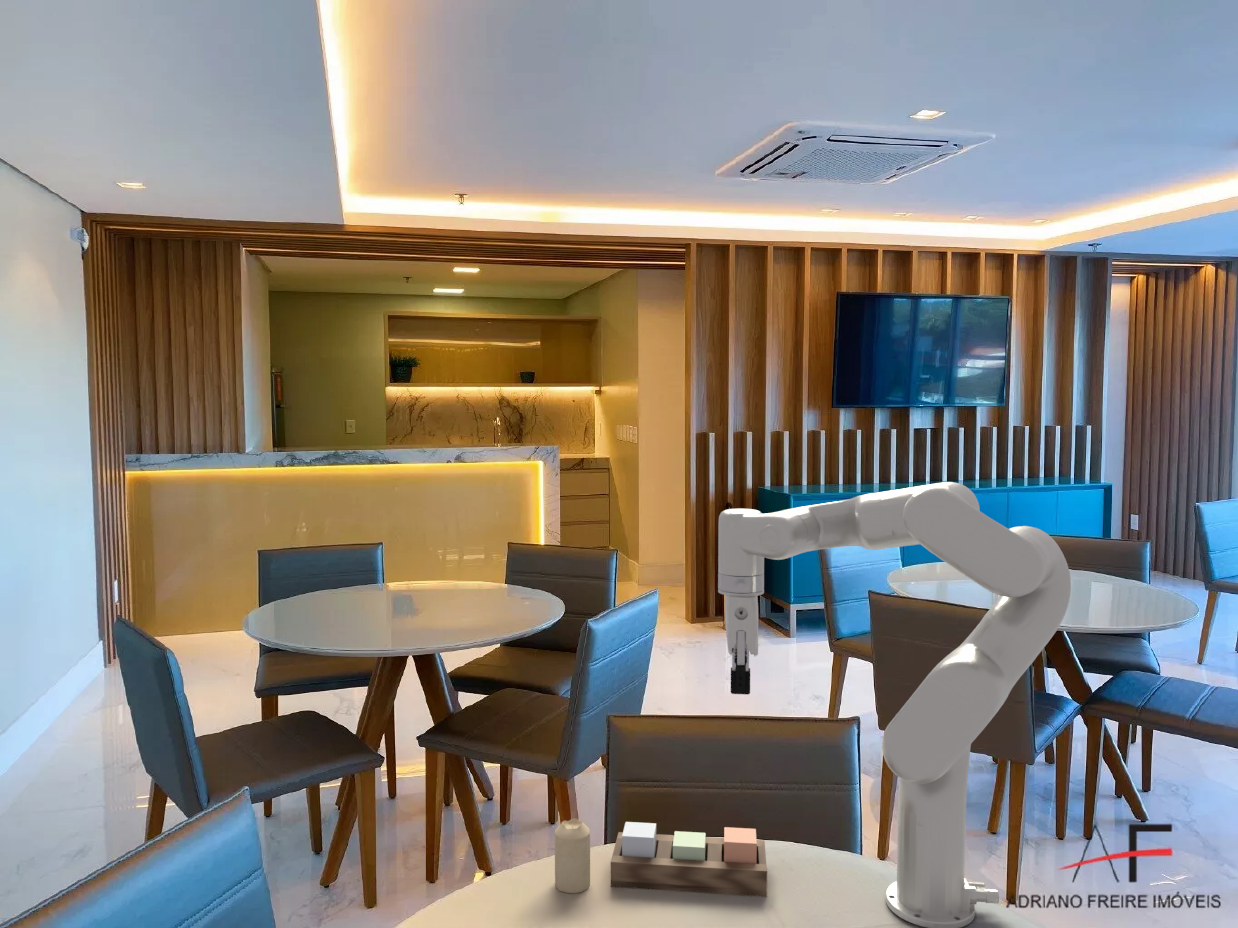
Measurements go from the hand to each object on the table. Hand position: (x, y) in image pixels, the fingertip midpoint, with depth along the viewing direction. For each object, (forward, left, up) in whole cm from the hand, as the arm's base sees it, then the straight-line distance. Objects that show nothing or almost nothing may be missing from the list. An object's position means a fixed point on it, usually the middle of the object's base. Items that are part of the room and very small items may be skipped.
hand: (740, 692), depth 150 cm
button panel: (+8, +9, -27) cm, 30 cm away
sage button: (+8, +9, -26) cm, 28 cm away
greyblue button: (+16, +9, -25) cm, 31 cm away
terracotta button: (0, +9, -25) cm, 26 cm away
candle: (+26, +14, -27) cm, 40 cm away
